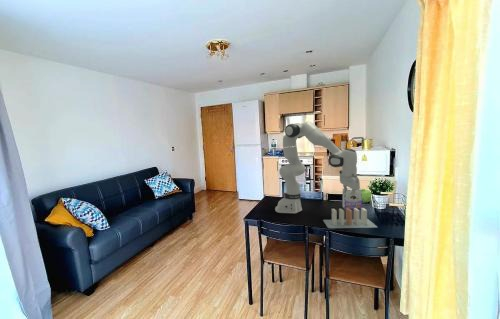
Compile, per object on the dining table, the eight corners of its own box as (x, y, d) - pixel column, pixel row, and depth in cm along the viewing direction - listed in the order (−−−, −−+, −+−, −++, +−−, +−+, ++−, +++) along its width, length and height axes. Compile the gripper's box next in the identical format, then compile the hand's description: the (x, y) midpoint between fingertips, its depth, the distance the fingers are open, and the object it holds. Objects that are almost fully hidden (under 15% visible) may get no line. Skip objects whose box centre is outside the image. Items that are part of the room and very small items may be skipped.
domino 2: (341, 225, 152) (341, 211, 151) (338, 222, 157) (339, 208, 156) (344, 225, 152) (344, 211, 150) (341, 222, 157) (341, 208, 155)
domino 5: (364, 224, 151) (364, 210, 150) (360, 221, 156) (361, 207, 155) (366, 224, 151) (367, 210, 149) (363, 221, 156) (363, 207, 154)
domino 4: (356, 224, 151) (356, 210, 150) (353, 221, 156) (353, 208, 155) (359, 224, 151) (359, 210, 150) (356, 221, 156) (356, 208, 155)
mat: (328, 228, 148) (328, 228, 148) (322, 220, 162) (322, 219, 162) (377, 228, 146) (377, 227, 146) (367, 219, 160) (368, 218, 160)
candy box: (359, 206, 186) (359, 187, 184) (362, 209, 180) (362, 189, 178) (342, 207, 187) (342, 188, 185) (344, 209, 182) (344, 189, 179)
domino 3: (349, 224, 151) (349, 210, 150) (345, 222, 156) (345, 208, 155) (352, 224, 152) (352, 210, 150) (348, 221, 157) (348, 208, 155)
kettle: (374, 204, 190) (375, 191, 189) (356, 203, 193) (357, 191, 192) (369, 198, 204) (370, 187, 203) (353, 198, 208) (353, 186, 206)
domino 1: (333, 225, 152) (334, 211, 151) (331, 222, 157) (331, 208, 156) (336, 225, 152) (336, 211, 151) (334, 222, 157) (334, 208, 156)
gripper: (362, 175, 139) (362, 197, 141) (346, 170, 159) (346, 188, 161) (353, 176, 139) (352, 197, 141) (338, 170, 159) (337, 189, 161)
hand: (349, 192), depth 151 cm, fingers open, 8 cm apart
